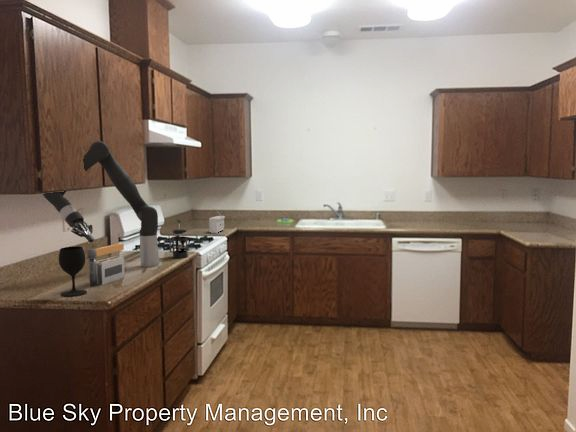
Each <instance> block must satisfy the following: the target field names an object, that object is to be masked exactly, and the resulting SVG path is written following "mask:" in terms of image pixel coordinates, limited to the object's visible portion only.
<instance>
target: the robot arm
mask: <svg viewBox="0 0 576 432" xmlns="http://www.w3.org/2000/svg"><path fill="white" fill-rule="evenodd" d="M90 145H91V146H90ZM90 145H89V148H88V150H87V151H86V153H85V154H84V155H83V156H84V159H83V162H84V169H85V171H86V172H87V171H88V170H90V169H91V167H93V166H95V165H96V164H97V163H98V164H100V165H101V167H103V169H104V171H105V173H106V174H107V176H108V178H109V179H110V181H111V183H112V184H113V186H114V188H115V189H117V191H118V192H119V193H120V195H121V196H122V197H123V198H124V199H125V200H126V201H127V204H129V206H130V207H131V209H132V210H133V212H134V214H135V215H136V217H137V218H138V219H139V221H140V230H139V249H140V250H139V252H140V253H139V254H140V257H139V258H140V266H141V267H143V268H152V267H156V266H159V264H160V262H159V261H160V259H159V257H160V256H159V248H158V228H159V216H158V211H157V210H156V208H155V207H153V206H149V205H148V204H147V203H146V201H144V199H143V197H142V196H141V194H140V192H139V189H138V187H137V186H136V183H135V182H134V180H133V179H132V177H131V176H130V175H129V174H128V173H127V171H126V169H124V168H123V166H121V165H120V164H119V163H118V161H116V159H115V157H114V155H113V154H112V152H111V151H110V149H109V147H108V145H107V143H105V142H104V141H101V140H95V141H93V142H92V143H90ZM66 193H67V191H64V192H53V193H45V194H42V196H43V197H44V198H45V199H46V200H47V201H48V202H49V203H50V204H51V205H53V207H54V209H55V210H56V211H57V212H58V214H60V216H61V217H62V219H63V220H64V221H65V222H66V224H67V225H68V226H69V227H70V228H72V229H71V230H70V232H71V233H73V234H75V235H77V237H80V238H85V239H86V240H87V241H88V242H89V243H93V242H94V241H95V238H94V236H93V235H92V233H93V231H94V230H93V225H92V224H90V225H89V224H88V223H86V221H84V217H83V215H82V214H81V213H80V212H79V211H78V209H77V208H76V207H74V205H72V203H71V202H70V200H68V199H67V198H66V197H65V196H64V195H65V194H66Z"/></svg>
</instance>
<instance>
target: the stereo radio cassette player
mask: <svg viewBox="0 0 576 432" xmlns="http://www.w3.org/2000/svg"><path fill="white" fill-rule="evenodd" d="M216 212H217V213H218V214H219V215H215V216H213V217H210V218H209V219H208V231H209V233H210V232H211V233H212V234H219V233H220V232H219V231H221V230H224V231H225V218H226V215H221V214H220V212H219V211H218V210H216ZM218 232H219V233H218ZM211 233H210V234H211Z"/></svg>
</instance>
